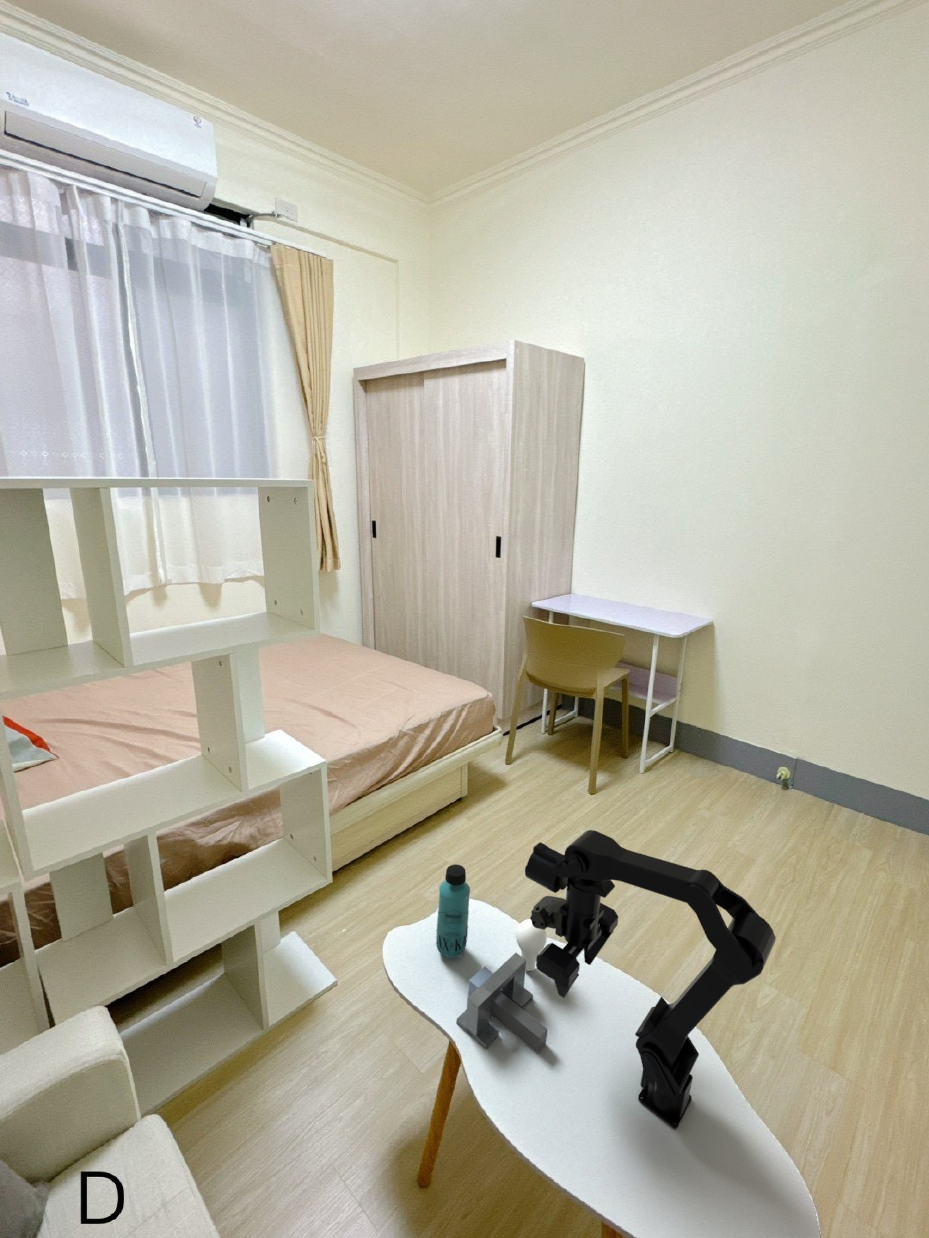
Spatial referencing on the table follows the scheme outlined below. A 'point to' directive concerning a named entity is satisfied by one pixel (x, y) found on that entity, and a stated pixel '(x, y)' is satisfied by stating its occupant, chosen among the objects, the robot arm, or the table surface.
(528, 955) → the lightbulb
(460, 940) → the beverage bottle
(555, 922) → the robot arm
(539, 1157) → the table surface
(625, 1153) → the table surface
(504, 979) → the gray arch-shaped bracket
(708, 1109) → the table surface
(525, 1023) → the plug
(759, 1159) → the table surface
